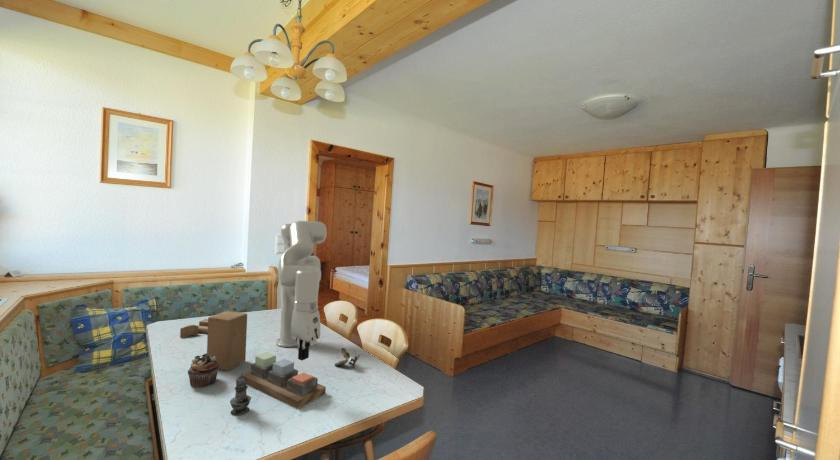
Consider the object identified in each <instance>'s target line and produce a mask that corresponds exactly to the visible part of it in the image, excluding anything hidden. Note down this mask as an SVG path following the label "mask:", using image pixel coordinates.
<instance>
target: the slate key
mask: <svg viewBox="0 0 840 460" xmlns="http://www.w3.org/2000/svg"><path fill="white" fill-rule="evenodd" d="M294 369H295V361H292V360H289V359H286V358H284V359H280V360H278V361H276V362H275V363H273V373H275V374H277V375H279V376H284V375H286V374H289V373H291V372H293V371H294Z"/></svg>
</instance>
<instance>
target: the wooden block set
mask: <svg viewBox="0 0 840 460" xmlns="http://www.w3.org/2000/svg"><path fill="white" fill-rule="evenodd" d="M199 333H201V334H208V318H205V319H204V318H203V319H202V320H200V321H199V322H198V325H196V324H188V325H186V326H183V327H180V331H179V337H181V338H187V337H192V336H193V337H194V336H198V335H199Z"/></svg>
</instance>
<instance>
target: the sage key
mask: <svg viewBox="0 0 840 460" xmlns="http://www.w3.org/2000/svg"><path fill="white" fill-rule="evenodd" d="M254 360H255V361H254V363H255V365H256V366H258V367H261V368H263V369H264V368H266V367H269V366H271V365H273V363H275V362H277V355H276V354H273V353H270V352H268V351H267V352H264V353H261V354H258V355H256V356H255V358H254Z"/></svg>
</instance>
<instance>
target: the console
mask: <svg viewBox="0 0 840 460" xmlns="http://www.w3.org/2000/svg"><path fill="white" fill-rule="evenodd" d="M242 374H243V373H242ZM298 374H299V371H298V369H295V368H294V371H293V372H291V373H289V374H286V375H284V376H279V375H277V374H275V373H273V365H271V366H269V367H266V368H264V369H263V368H261V367H258V366H256V365H255V362H254V363H251V364H250V371H248V372H247V373H244V374H243V375H244V376H246V377H247V383H246V385H247V386H249V387H250V388H253V389H255V390H257V391H259V392H261V393H263V394H266V395H268V396H269V397H271V398H273V399H276V400H278V401H280V402H282V403H284V404H285V405H289V406H290V407H292V408H294V409H296V410H299V409H301V408H302V407H304V406H306V405H308V404H310V403H311V402H313V401H315V400H317V399H319V398H320V397H322V396H324V395H326V390H327V387H326V386H325V385H322V384H320V383H318V381H319V379H318V378H317V377H315V376H314V377H313V380H311V381H309V382H307V383H305V384H303V385H300V384H298V383H296V382H293V381H292V377H294V376H296V375H298Z"/></svg>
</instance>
